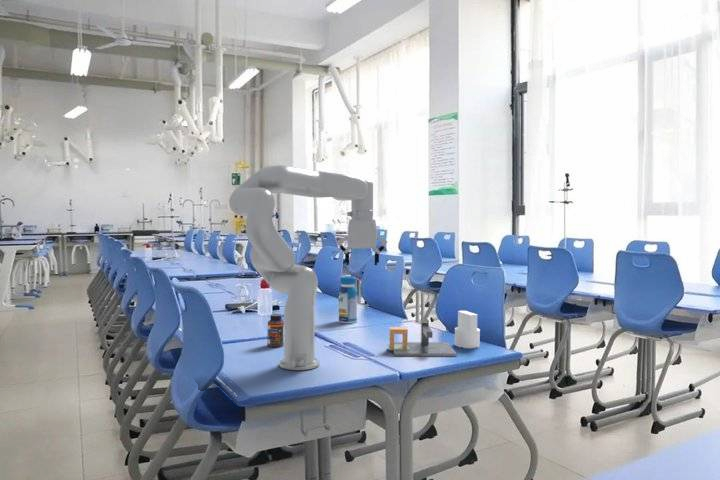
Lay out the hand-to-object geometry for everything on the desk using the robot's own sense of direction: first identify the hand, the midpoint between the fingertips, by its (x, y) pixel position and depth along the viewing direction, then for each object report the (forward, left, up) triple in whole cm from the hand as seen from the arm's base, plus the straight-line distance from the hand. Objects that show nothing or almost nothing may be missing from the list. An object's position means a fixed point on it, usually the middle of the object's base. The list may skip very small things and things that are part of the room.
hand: (361, 264), depth 191 cm
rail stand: (+1, -21, -30) cm, 37 cm away
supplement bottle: (+8, +31, -31) cm, 44 cm away
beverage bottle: (+52, +5, -31) cm, 60 cm away
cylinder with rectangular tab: (+9, -39, -31) cm, 50 cm away
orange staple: (+1, -13, -29) cm, 32 cm away
